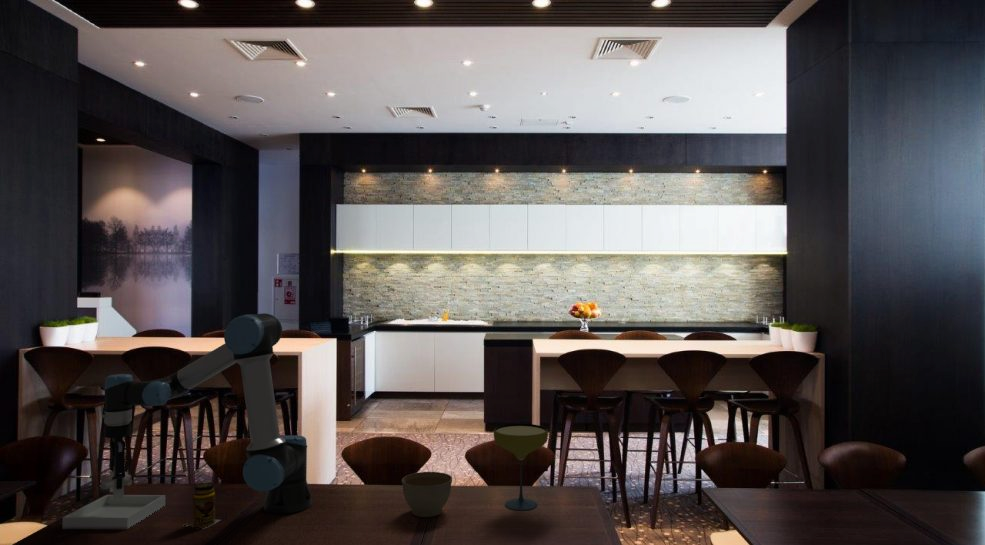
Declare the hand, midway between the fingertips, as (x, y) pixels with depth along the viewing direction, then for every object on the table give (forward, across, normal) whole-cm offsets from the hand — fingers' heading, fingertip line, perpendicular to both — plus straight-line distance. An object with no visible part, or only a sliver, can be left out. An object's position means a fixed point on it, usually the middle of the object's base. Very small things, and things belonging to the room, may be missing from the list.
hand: (116, 494), depth 192 cm
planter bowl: (+7, +59, +79) cm, 99 cm away
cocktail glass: (+6, +73, +107) cm, 130 cm away
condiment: (+7, +23, +20) cm, 31 cm away
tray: (+7, 0, 0) cm, 7 cm away
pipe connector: (+1, 0, 0) cm, 1 cm away
